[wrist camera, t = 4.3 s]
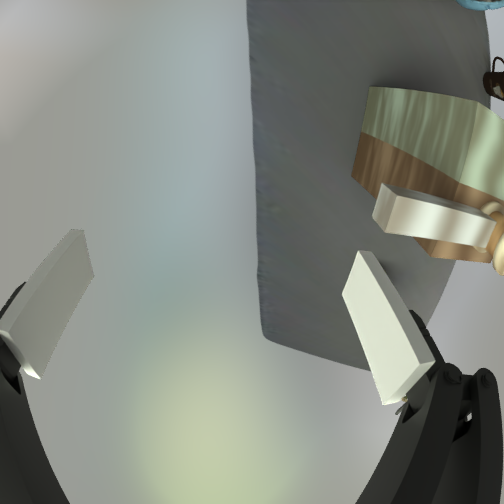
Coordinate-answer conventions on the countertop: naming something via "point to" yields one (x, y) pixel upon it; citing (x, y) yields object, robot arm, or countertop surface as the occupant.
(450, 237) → the bobbin
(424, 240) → the stand
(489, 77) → the coffee mug
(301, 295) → the countertop surface
